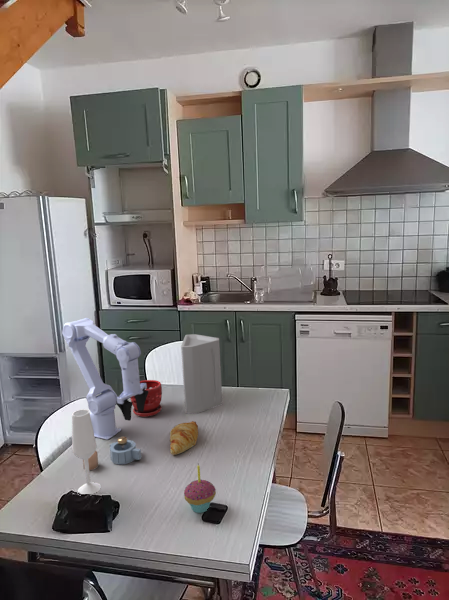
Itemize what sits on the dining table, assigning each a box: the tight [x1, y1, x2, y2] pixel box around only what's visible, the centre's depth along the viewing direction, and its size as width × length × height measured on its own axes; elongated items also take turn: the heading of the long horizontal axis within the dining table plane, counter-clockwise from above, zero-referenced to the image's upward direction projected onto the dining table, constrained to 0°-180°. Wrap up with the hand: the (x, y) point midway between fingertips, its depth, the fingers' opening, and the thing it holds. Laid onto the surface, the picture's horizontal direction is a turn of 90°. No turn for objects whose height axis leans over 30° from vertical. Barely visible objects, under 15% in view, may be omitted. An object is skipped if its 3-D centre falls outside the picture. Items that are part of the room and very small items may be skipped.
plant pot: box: [129, 379, 163, 418], centre depth 180 cm, size 13×13×12 cm
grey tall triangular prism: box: [180, 333, 223, 415], centre depth 184 cm, size 19×15×28 cm
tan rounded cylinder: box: [82, 450, 99, 471], centre depth 141 cm, size 5×5×4 cm
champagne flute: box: [71, 408, 102, 494], centre depth 127 cm, size 7×7×24 cm
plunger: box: [117, 436, 128, 451], centre depth 145 cm, size 5×5×6 cm
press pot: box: [109, 439, 142, 466], centre depth 145 cm, size 11×8×4 cm
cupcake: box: [183, 462, 217, 514], centre depth 118 cm, size 9×8×12 cm
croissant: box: [169, 420, 199, 456], centre depth 154 cm, size 21×10×8 cm, turn 165°
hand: (134, 415), depth 154 cm, fingers open, 7 cm apart
